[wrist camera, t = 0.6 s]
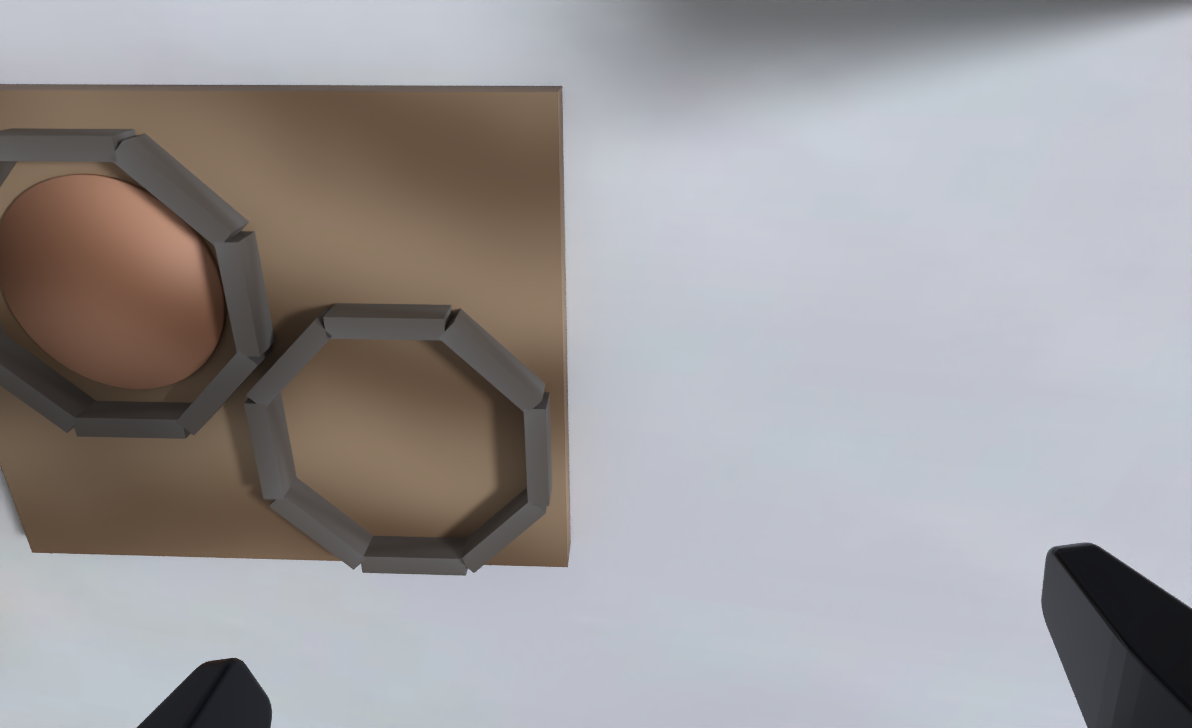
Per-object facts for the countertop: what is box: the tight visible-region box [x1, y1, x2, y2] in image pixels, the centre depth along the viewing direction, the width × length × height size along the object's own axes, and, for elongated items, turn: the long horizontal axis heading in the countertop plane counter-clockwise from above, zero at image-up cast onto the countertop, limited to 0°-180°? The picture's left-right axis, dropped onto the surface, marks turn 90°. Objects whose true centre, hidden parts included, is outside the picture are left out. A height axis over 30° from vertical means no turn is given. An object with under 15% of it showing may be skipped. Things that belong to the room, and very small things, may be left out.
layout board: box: [0, 84, 570, 575], centre depth 23 cm, size 14×17×2 cm
